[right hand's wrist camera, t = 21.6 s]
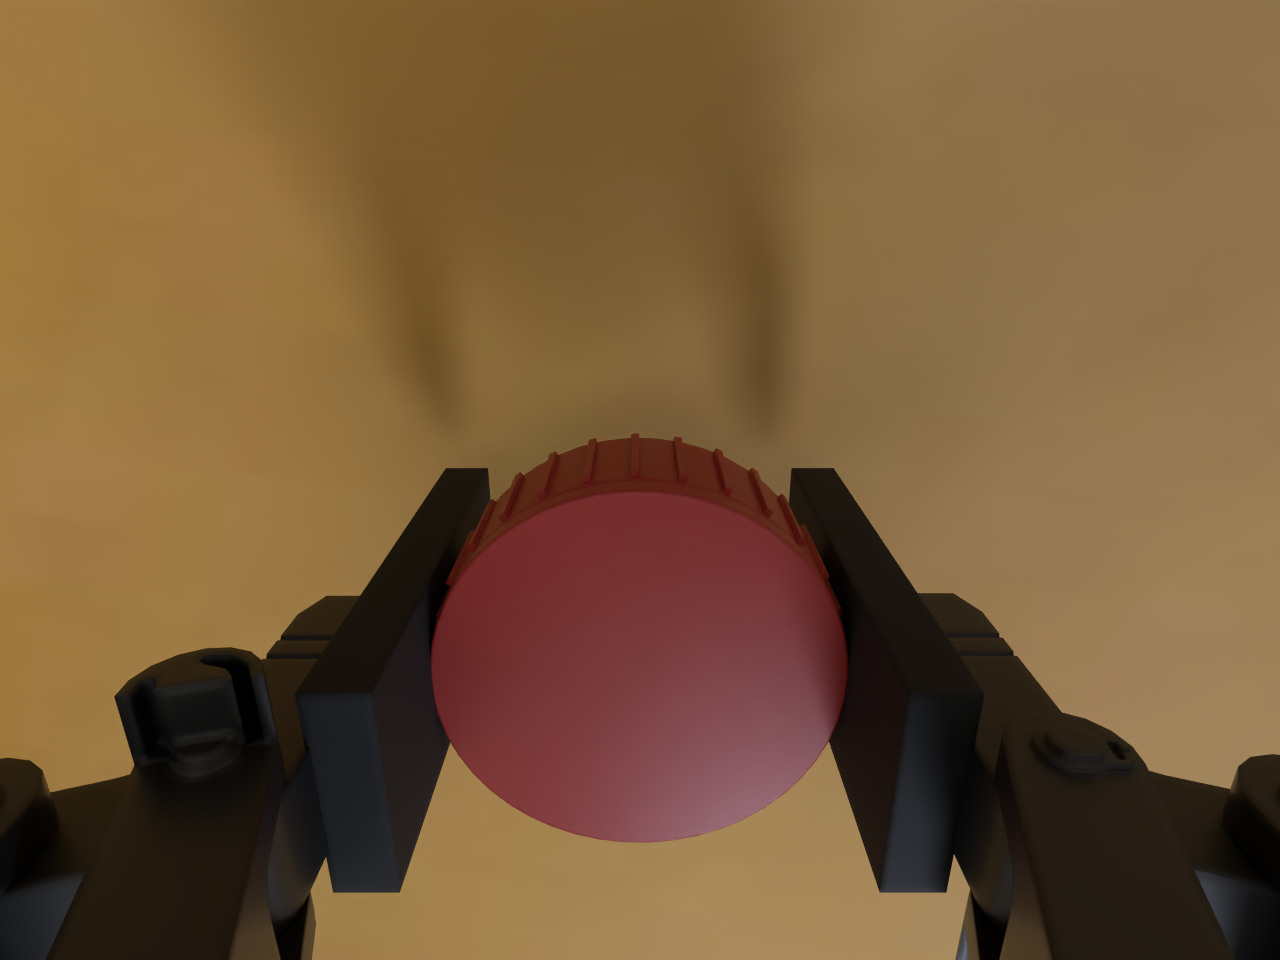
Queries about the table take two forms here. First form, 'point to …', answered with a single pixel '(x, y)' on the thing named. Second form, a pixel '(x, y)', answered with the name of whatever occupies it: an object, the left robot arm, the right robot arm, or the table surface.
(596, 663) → the lid
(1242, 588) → the table surface
